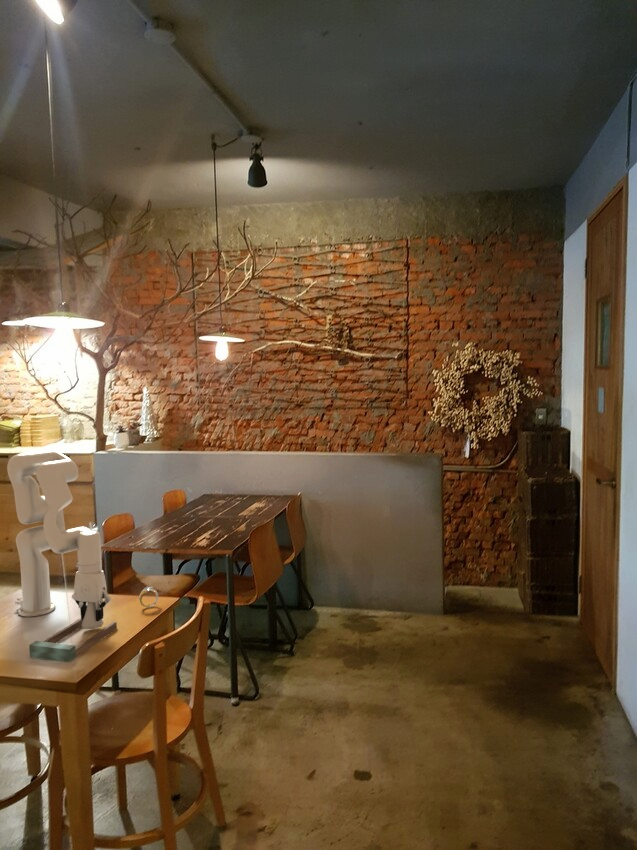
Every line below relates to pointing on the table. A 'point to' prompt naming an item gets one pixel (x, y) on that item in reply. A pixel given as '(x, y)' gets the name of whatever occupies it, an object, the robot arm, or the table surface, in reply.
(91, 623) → the flask
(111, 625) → the guide channel
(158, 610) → the table surface
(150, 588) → the ring
